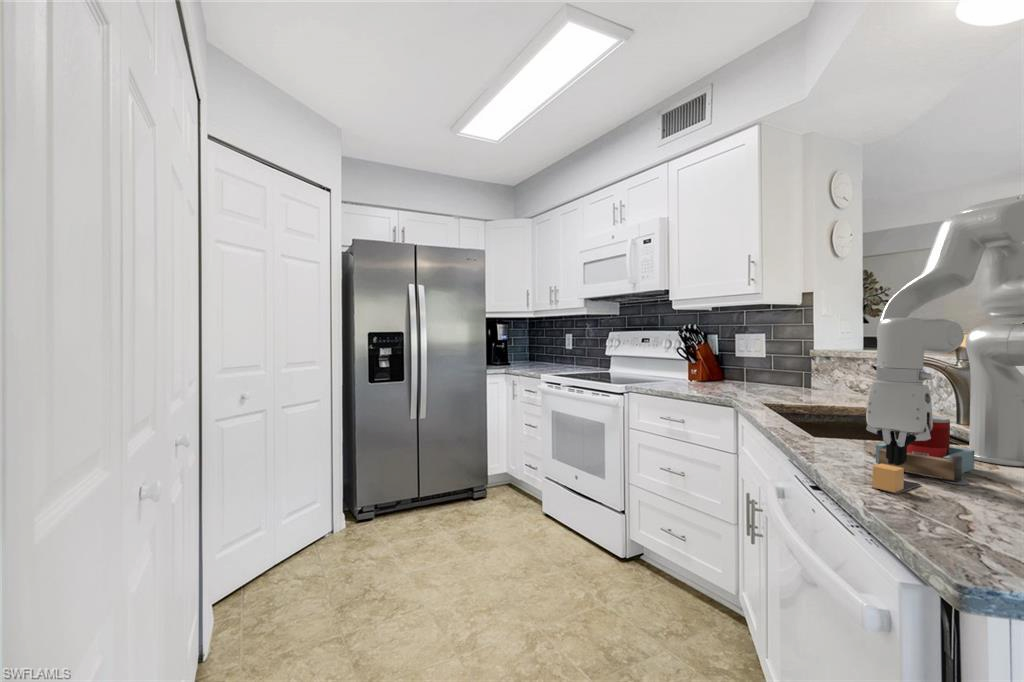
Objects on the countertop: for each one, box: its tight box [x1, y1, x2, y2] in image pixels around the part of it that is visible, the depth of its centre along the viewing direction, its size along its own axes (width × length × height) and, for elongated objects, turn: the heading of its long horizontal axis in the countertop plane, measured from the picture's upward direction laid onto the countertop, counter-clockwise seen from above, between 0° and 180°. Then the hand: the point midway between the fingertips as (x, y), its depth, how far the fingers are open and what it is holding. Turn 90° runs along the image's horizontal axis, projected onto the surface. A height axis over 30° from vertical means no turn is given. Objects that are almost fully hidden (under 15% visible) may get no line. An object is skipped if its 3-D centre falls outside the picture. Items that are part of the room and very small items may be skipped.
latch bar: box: [878, 449, 963, 481], centre depth 96 cm, size 13×2×5 cm, turn 37°
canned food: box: [907, 414, 951, 458], centre depth 103 cm, size 8×8×11 cm
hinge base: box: [941, 478, 970, 486], centre depth 92 cm, size 4×4×1 cm
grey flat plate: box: [871, 479, 922, 495], centre depth 89 cm, size 10×4×1 cm, turn 119°
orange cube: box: [872, 463, 905, 492], centre depth 87 cm, size 4×4×4 cm
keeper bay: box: [875, 439, 975, 474], centre depth 103 cm, size 13×13×4 cm
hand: (896, 463), depth 97 cm, fingers closed
